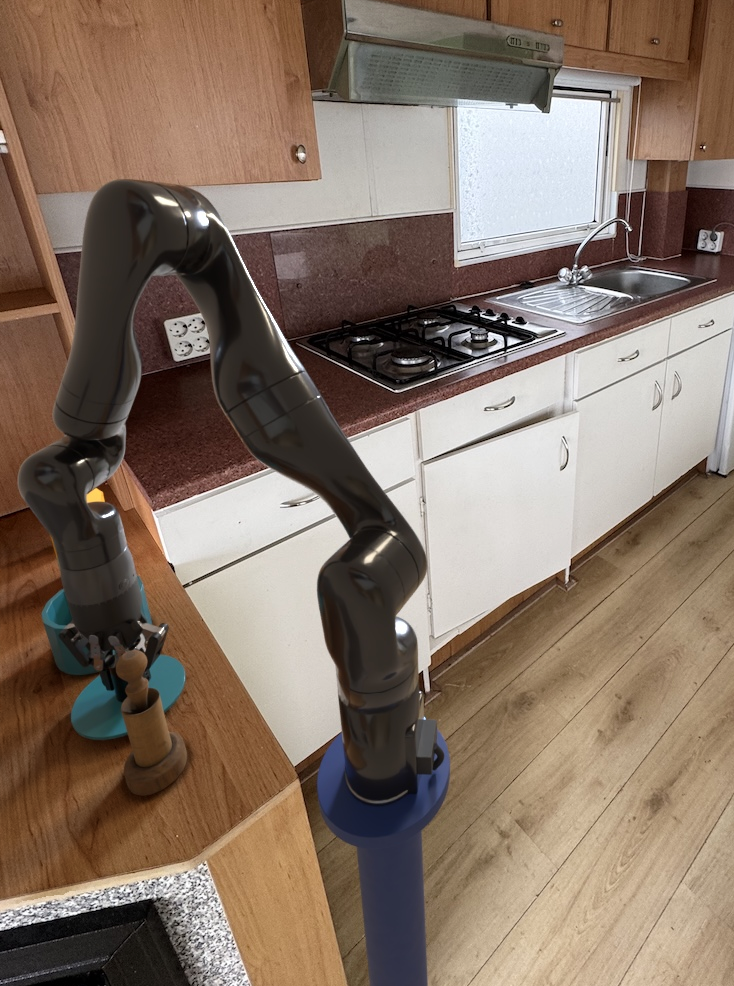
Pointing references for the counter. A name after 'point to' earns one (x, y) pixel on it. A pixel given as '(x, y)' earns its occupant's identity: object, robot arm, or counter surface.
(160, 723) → the mortar and pestle
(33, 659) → the counter surface
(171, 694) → the lid
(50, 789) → the counter surface
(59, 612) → the pot
